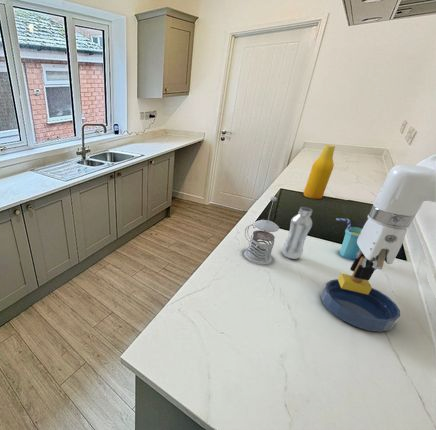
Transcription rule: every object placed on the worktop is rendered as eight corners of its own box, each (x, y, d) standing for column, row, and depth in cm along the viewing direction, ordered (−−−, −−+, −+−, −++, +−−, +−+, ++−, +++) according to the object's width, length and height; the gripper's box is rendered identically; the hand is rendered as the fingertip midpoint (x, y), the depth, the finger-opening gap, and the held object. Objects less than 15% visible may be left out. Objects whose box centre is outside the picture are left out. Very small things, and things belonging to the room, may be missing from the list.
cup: (324, 255, 100) (338, 221, 94) (321, 245, 106) (334, 212, 100) (371, 265, 94) (390, 229, 88) (365, 254, 101) (382, 220, 94)
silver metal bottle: (290, 262, 97) (307, 214, 88) (276, 252, 103) (290, 206, 94) (304, 259, 98) (322, 212, 89) (289, 249, 104) (305, 204, 95)
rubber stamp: (363, 285, 75) (379, 257, 70) (368, 294, 72) (385, 265, 67) (337, 279, 77) (351, 251, 73) (341, 288, 74) (355, 259, 69)
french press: (263, 267, 95) (281, 205, 83) (234, 252, 103) (247, 194, 92) (277, 258, 99) (296, 198, 88) (248, 244, 108) (263, 188, 97)
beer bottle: (323, 195, 152) (342, 145, 138) (320, 200, 146) (339, 148, 132) (304, 192, 157) (321, 143, 144) (301, 196, 151) (317, 146, 138)
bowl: (379, 299, 80) (386, 288, 78) (403, 341, 67) (412, 329, 65) (315, 284, 86) (320, 273, 84) (326, 320, 73) (332, 309, 71)
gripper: (428, 234, 56) (388, 298, 64) (395, 206, 69) (366, 262, 77) (383, 227, 59) (350, 289, 67) (360, 201, 72) (335, 255, 80)
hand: (359, 274), depth 72 cm, fingers closed on rubber stamp, 2 cm apart
